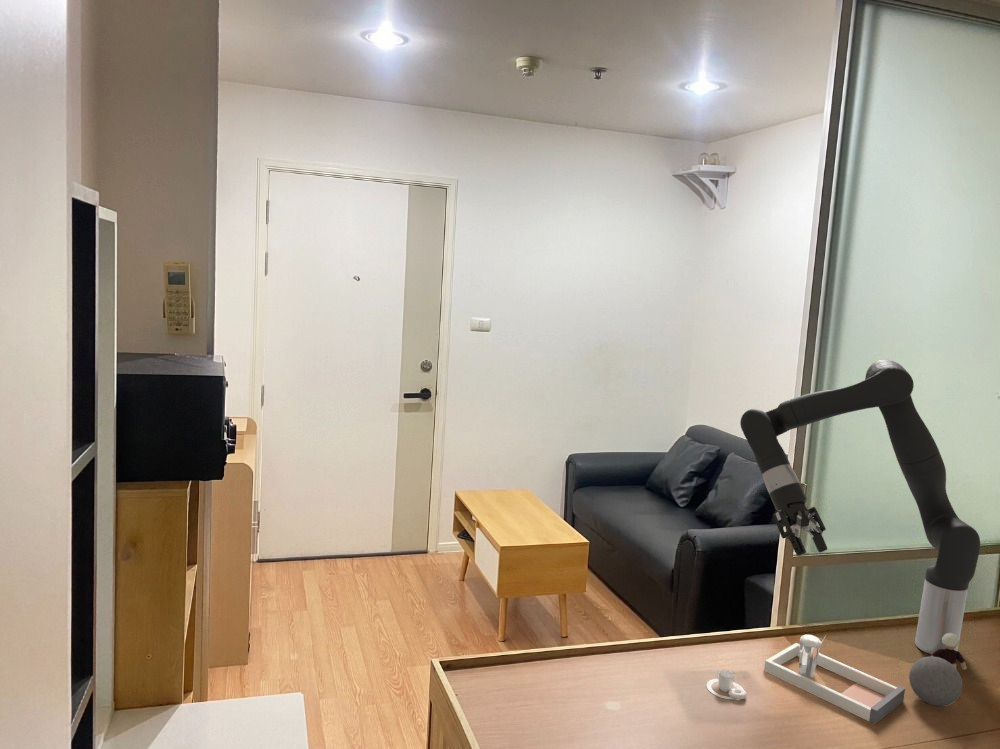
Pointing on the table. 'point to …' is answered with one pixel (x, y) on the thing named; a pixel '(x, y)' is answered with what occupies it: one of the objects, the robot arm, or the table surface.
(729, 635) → the table surface
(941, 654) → the grandmother figurine
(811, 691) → the tray
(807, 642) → the milkshake
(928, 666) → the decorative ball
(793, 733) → the table surface
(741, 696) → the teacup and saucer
